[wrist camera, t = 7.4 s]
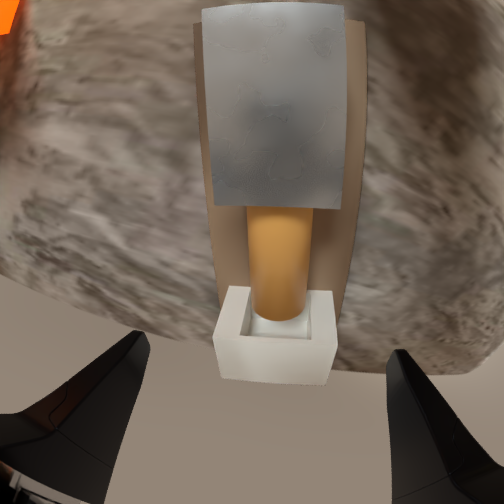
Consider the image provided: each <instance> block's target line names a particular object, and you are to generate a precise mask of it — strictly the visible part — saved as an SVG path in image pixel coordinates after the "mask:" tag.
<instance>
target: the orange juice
mask: <svg viewBox="0 0 504 504" xmlns="http://www.w3.org/2000/svg"><path fill="white" fill-rule="evenodd" d="M19 1H20V0H0V35H2V34H7V33H9V31H10V28H11V24H12V21H13V18H14V15H15V12H16V9H17V6H18V4H19Z"/></svg>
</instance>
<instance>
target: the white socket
mask: <svg viewBox="0 0 504 504" xmlns="http://www.w3.org/2000/svg"><path fill="white" fill-rule="evenodd" d="M213 342H214V347H215V351H216V356H217V361H218V365H219V369H220V374H221V378H225V379H234V380H242V381H252V382H263V383H277V384H294V385H326V383H327V380H328V377H329V373H330V370H331V367H332V364H333V360H334V357H335V354H336V350H337V347H338V340H337V330H336V320H335V311H334V302H333V294H332V291H321V290H307V291H306V301H305V307H304V310H303V311H302V312H301V313H300V314H299V315H298V316H297V317H295V318H293V319H290V320H286V321H271V320H267V319H264V318H262V317H260V316H259V315H258V314H256V313H255V311H254V310H253V308H252V304H251V287H242V286H229V288H228V291H227V294H226V297H225V300H224V303H223V306H222V309H221V312H220V315H219V319H218V322H217V325H216V328H215V331H214V334H213Z"/></svg>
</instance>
